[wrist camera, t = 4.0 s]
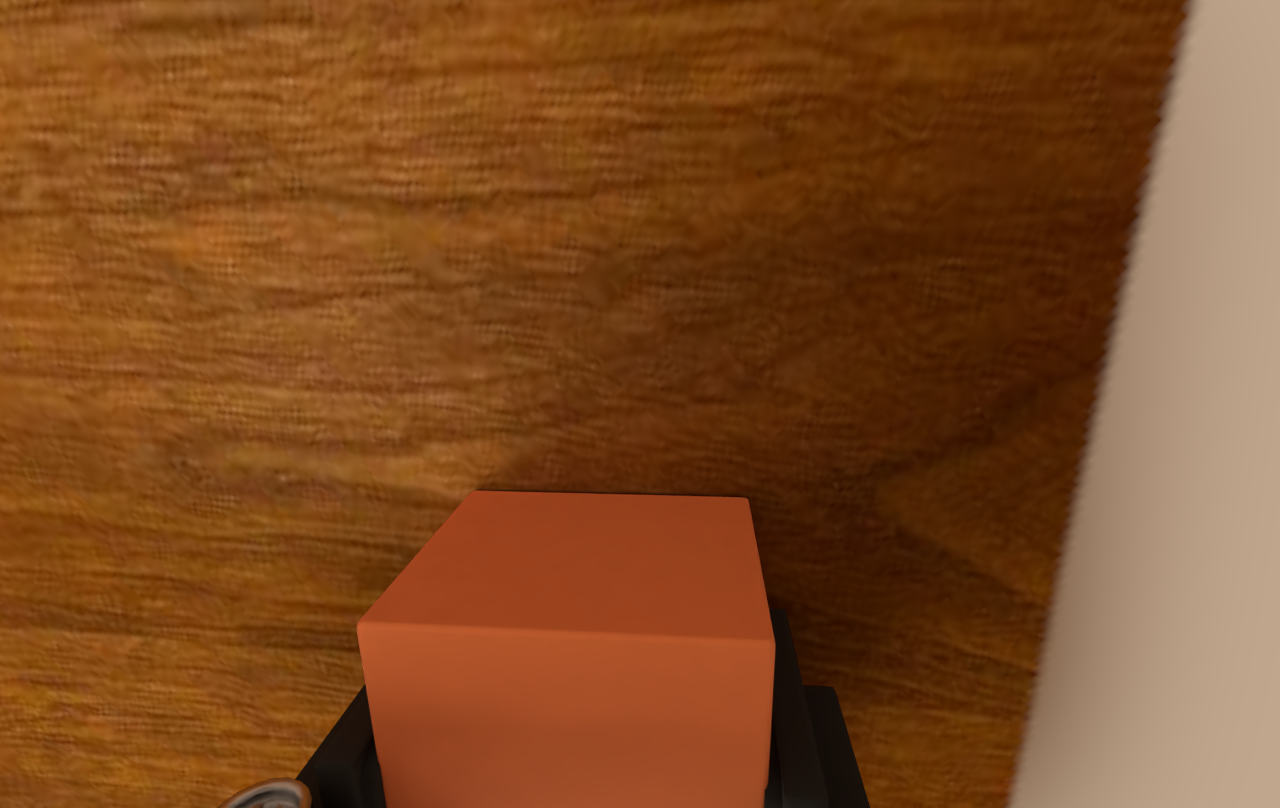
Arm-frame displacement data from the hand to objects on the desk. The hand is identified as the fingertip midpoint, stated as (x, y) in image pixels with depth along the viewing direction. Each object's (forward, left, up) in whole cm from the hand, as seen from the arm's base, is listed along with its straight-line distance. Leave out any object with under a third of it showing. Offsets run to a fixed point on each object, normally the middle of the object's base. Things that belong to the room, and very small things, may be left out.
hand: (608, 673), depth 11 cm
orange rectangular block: (0, 0, 0) cm, 0 cm away
